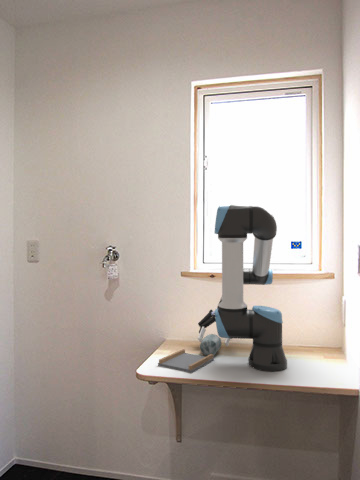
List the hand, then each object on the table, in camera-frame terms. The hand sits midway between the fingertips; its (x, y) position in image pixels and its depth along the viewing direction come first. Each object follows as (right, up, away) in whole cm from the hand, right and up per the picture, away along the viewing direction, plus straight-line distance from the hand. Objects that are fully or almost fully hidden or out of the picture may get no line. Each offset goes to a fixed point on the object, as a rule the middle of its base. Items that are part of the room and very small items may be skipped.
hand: (212, 342), depth 171 cm
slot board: (-12, -5, -15) cm, 19 cm away
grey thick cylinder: (-1, -5, -1) cm, 5 cm away
